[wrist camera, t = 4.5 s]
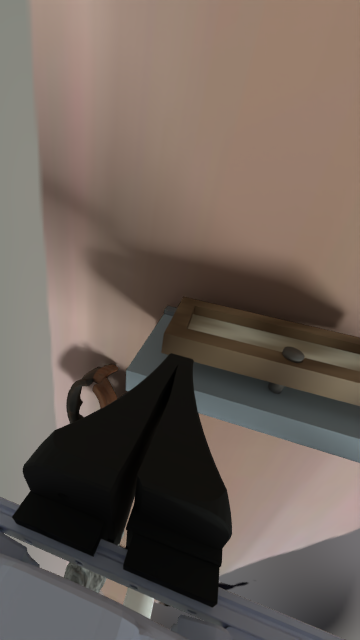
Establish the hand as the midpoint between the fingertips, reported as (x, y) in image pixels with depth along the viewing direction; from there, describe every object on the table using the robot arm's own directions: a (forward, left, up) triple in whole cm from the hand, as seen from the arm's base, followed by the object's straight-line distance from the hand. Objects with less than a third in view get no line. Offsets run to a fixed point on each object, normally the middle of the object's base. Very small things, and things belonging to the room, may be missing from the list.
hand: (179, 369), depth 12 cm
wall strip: (-6, +3, -10) cm, 13 cm away
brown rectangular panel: (-6, 0, -8) cm, 10 cm away
